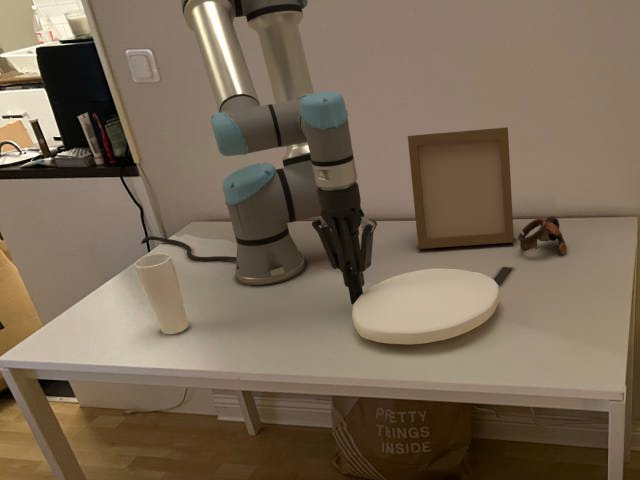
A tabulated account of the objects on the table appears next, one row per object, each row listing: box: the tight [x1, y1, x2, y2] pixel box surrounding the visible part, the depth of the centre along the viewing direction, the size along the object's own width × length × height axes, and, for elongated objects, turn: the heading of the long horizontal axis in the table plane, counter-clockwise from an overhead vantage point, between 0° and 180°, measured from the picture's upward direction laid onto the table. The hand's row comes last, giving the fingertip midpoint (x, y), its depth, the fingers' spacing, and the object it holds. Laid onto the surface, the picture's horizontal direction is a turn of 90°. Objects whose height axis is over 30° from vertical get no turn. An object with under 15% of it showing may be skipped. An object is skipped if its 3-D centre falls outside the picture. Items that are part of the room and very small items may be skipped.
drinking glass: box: [134, 252, 189, 335], centre depth 139 cm, size 7×7×15 cm
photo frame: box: [407, 126, 515, 250], centre depth 163 cm, size 15×22×25 cm
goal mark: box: [493, 266, 513, 286], centre depth 149 cm, size 2×8×1 cm, turn 158°
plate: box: [351, 267, 500, 345], centre depth 135 cm, size 28×6×27 cm
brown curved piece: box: [517, 215, 567, 256], centre depth 158 cm, size 12×10×8 cm
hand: (357, 301), depth 141 cm, fingers closed
